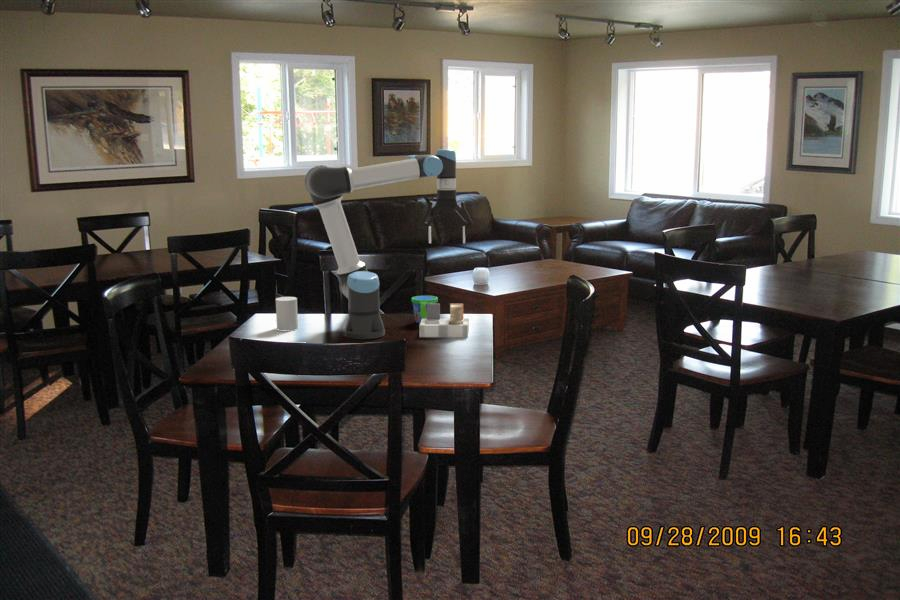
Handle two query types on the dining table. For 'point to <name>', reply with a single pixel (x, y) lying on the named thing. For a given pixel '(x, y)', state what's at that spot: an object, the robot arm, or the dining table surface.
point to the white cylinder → (286, 313)
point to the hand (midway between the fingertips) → (447, 243)
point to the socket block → (442, 324)
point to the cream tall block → (455, 314)
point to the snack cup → (422, 306)
